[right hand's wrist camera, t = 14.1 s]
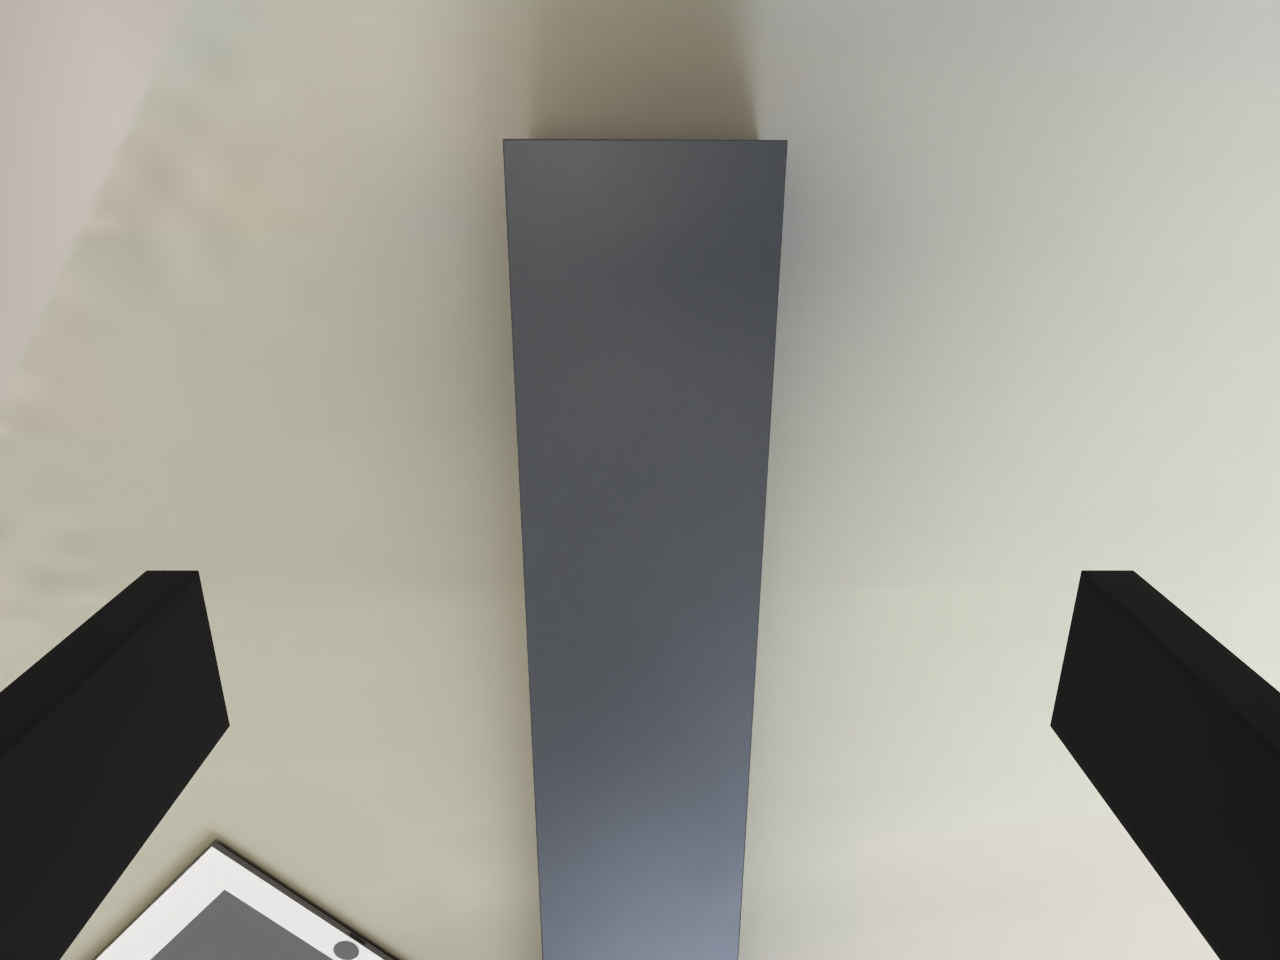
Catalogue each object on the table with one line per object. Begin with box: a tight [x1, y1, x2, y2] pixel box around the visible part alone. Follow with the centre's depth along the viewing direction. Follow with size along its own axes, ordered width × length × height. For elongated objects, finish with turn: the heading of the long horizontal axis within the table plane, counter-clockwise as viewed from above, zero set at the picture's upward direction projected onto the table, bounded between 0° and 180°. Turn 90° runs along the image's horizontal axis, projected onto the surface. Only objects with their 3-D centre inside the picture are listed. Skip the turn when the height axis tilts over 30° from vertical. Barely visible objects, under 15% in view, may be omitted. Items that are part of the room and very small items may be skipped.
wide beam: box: [503, 139, 787, 960], centre depth 42 cm, size 60×10×7 cm, turn 0°
